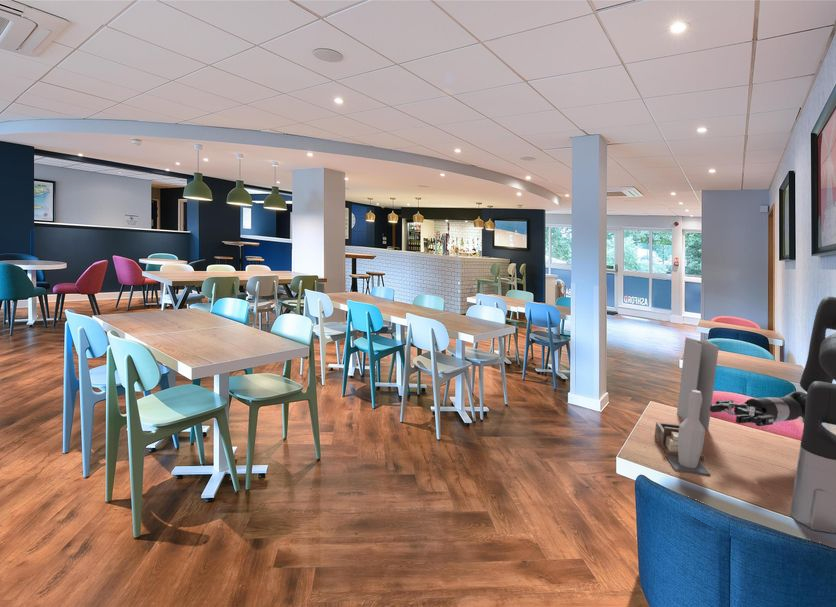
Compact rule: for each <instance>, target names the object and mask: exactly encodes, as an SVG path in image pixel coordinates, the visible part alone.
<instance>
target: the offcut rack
mask: <svg viewBox="0 0 836 607" xmlns="http://www.w3.org/2000/svg"><path fill="white" fill-rule="evenodd" d="M679 425H680V424H677V423H676V424H675V423H668V422H660V421H656V422H655V428H654V429H655V430H654V438H655V439H656V441H657V443H658V444H659V446H660V447H661V449H662V450H663V452H664V453H665V456H666V455H669V456H677V457H678V433H679ZM705 458H706V457H705V455H704V454H703V449H702V450H701V454H700V458H699V460H700V461H701V462H704V461H705Z"/></svg>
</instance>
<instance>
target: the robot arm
mask: <svg viewBox="0 0 836 607" xmlns="http://www.w3.org/2000/svg"><path fill="white" fill-rule="evenodd" d="M827 329H828V330H833V331H836V296H835V297H834V296H825V297H823V298H822V300H820V302H819V304H818V305H817V309H816V313H815V317H814V321H813V325H812V331H811V335H810V341H809V347H808V353H807V359H806V363H805V366H804V369H803V372H802V374H801V378H800V381H799V386H800V388H802V390H803V391H804V392H803V391H799V390H798V391H797V390H796V391H792V392H790V393H789V394H788V393H787V394H786V395H785V396H781V397H779V396H778V397H771V396H769V397H755V398H749V399H747V400H746V401H745V402H744V403H742V402H739V403H737V402H734V401H735V400H732V399H728V400H727V399H726V400H725V399H724V400H722V399H721V400H716V401H715V404H713V403H712V405H711V406H710V411H711V413H721V412H723V413H728V415H731V416H736V417H735V423H737V424H746V423H748V424H751V425H753V424H755V426H757V427H764V426H771V425H773V424H775V423H780V422H786V421H787V422H788V421H794V420H797V419H798V418H800V417H801V418H802V419H804V420H803V421H804V423H803V429H802V434H801V440H800V446H799V452H798V460H797V464H796V472H795V475H794V476H795V477H794V483H793V490H792V498H791V503H790V509H789V510H790V512H789V513H790V514H789V515H791V517H792V518H793V519H794V520H796V521H797V522H799V523H800V524H802V525H804V526H806V527H808V528H809V529H810V530H813V531H818V532H825V533H831V534H836V434H835V433H833V432H831V431H830V430H829V429H827V428H826V427H825V426H824V425H823V423H824V424H828V425H832V426H833V425H834V426H836V383H833V382H834V381H835V382H836V332H833V333H831V334H830V335H828V336H827V335H826V333H827ZM826 336H827V337H826ZM805 392H806V393H805ZM732 409H733V411H732Z"/></svg>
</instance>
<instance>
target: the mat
mask: <svg viewBox="0 0 836 607" xmlns="http://www.w3.org/2000/svg"><path fill="white" fill-rule="evenodd" d="M665 458H666V459H667V461H668V463H669V464H670V466H671V468H673V470H674V472H681V473H688V474H696V475H700V476H701V475H702V476H710V477H711V473H710V472H709V470H708V469H707V468H706V467H705V465H704V463H702V461H700V460H699V461H698V465H697V467H695V468H689V467H685V466H683V465H681V464H680V463H679V460H678V457H677V456H669V455H666V454H665Z"/></svg>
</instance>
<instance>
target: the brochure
mask: <svg viewBox="0 0 836 607" xmlns="http://www.w3.org/2000/svg"><path fill="white" fill-rule="evenodd" d="M719 347H720V346H719V345H717V344H715V343H713V342H710V341H709V340H706V339H705V338H702V337H701V338H700V340H697V339H694V338H691V337H687V336H685V341H684V347H683V348H684V350H683V358H682V365H681V367H682V368H681V374H680V384H679V390H678V391H679V392H678V400H677V407H676V408H677V409H676V415H678V417H679V418H681V420H682V421H684V420H685V419H686V418H687V416H688V408H689V395H690V393H691V391H692V390H697V391H700V392H701V394H702V398H703V400H702V404H701V409H700V416H699V421H700V422H701V424H702V426H703V427H704V429H705V430H707V431H709V428H710V421H711V420H710V419H711V413H712V412H711V411H710V406H711V405H713V396H714V395H713V394H714V387H715V379H716V373H717V364H718V355H719V349H720V348H719Z"/></svg>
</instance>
